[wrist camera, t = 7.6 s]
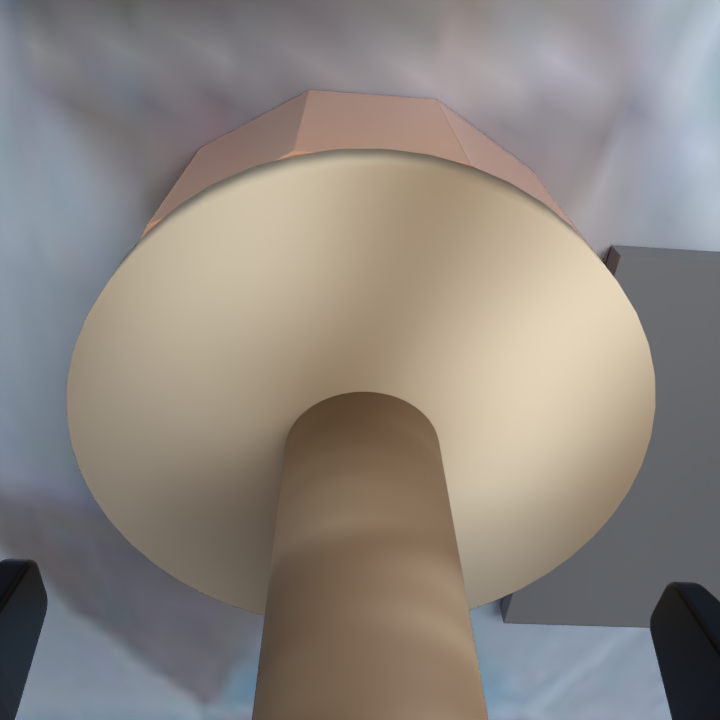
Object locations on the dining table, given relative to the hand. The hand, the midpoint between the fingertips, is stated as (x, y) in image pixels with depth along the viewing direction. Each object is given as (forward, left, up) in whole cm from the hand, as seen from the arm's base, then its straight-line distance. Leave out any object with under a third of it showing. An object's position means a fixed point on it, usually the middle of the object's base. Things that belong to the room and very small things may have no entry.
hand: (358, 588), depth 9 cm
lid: (0, 0, -4) cm, 4 cm away
